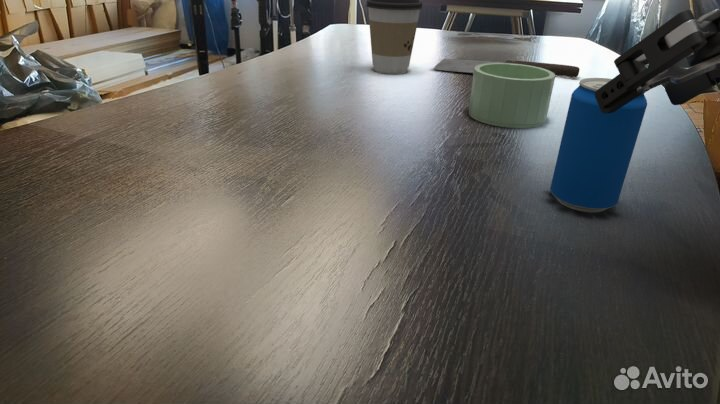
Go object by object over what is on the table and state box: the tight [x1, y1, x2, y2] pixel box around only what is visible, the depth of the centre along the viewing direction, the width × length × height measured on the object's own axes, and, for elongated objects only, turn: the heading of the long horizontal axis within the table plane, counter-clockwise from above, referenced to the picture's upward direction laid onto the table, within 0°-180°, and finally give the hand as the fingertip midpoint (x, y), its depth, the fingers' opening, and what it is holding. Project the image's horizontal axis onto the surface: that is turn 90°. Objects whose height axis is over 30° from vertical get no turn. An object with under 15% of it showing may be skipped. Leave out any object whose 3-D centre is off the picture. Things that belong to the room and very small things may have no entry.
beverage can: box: [549, 77, 648, 213], centre depth 49 cm, size 6×6×12 cm
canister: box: [468, 63, 556, 129], centre depth 76 cm, size 12×12×7 cm
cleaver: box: [433, 58, 580, 78], centre depth 105 cm, size 29×10×2 cm, turn 75°
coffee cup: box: [365, 0, 424, 75], centre depth 101 cm, size 11×11×15 cm
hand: (636, 100), depth 44 cm, fingers open, 8 cm apart
